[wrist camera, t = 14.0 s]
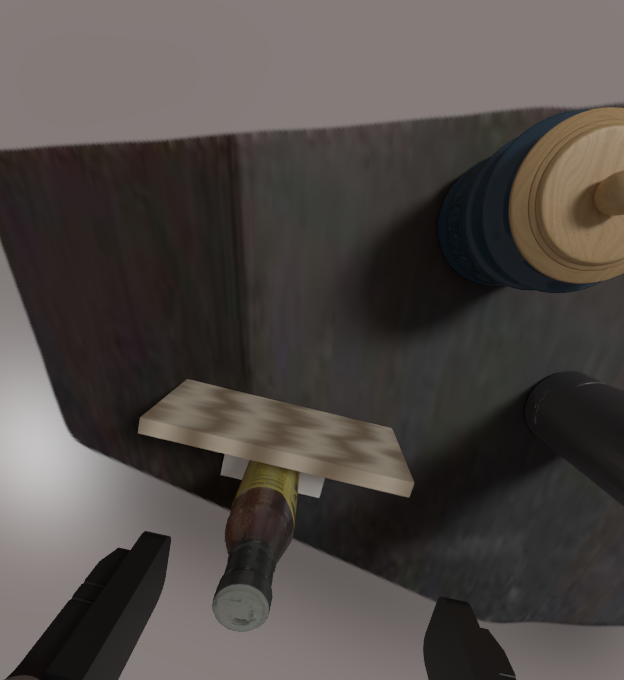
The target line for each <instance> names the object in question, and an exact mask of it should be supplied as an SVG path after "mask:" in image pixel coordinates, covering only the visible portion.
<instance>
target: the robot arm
mask: <svg viewBox="0 0 624 680" xmlns="http://www.w3.org/2000/svg"><path fill="white" fill-rule="evenodd" d="M525 418H526V422H527V425H528V427H529V429H530V430H531V431H532V432H533V434H535V435H536V436H537V437H538V438H539V439H541V440H542V441H543V442H544V443H546V444H547V445H548V446H549V447H551V448H552V449H553V450H554V451H555V452H557V453H558V454H559V455H560V456H561V457H563V458H564V459H565V460H566V461H568V462H569V463H570V464H571V465H573V466H574V467H575V468H576V469H578V470H579V471H580V472H581V473H583V474H584V475H585V476H586V477H588V478H589V479H590V480H591V481H593V482H594V483H595V484H596V485H598V486H599V487H600V488H601V489H603V490H604V491H605V492H606V493H608V494H609V495H610V496H611V497H613V498H614V499H615V500H616V501H618V502H619V503H620V504H621V505H623V506H624V391H623V390H621V389H619V388H616V387H614V386H612V385H609V384H607V383H605V382H602V381H600V380H597V379H595V378H593V377H590V376H588V375H585V374H582V373H578V372H562V373H557V374H554V375H552V376H549V377H548V378H546V379H544V380H543V381H541V382H540V383H539V384H538V385H537V386H536V387H535V388H534V389H533V391H532V392H531V393H530V395H529V397H528V399H527V402H526V406H525ZM170 544H171V537H170V536H166V535H161V534H157V533H152V532H147V531H145V532H143V533H142V535H141V536H140V538H139V539H138V540H137V542H136V543H135V544H134V546H133V547H132V549H131V550H127V549H122V548H117V549H116V550H115V551H113V552H112V553H111V554H109V555H108V556H106V557H105V558H104V559H102V560H101V561H99V563H98V564H97V565H96V566H95V568H94V569H93V571H92V572H91V573H90V574H89V575H88V577H87V578H86V579H85V582H84V583H83V584H81V586H80V587H79V588H78V590H77V591H76V592H75V593H74V595H73V597H72V599H71V600H69V601H68V603H67V604H66V605H65V606H64V608H63V609H62V610H61V612H60V613H59V614H58V615H57V617H56V618H55V619H54V621H53V622H52V623H51V624H50V626H49V627H48V628H47V630H46V631H45V632H44V633H43V635H42V636H41V637H40V639H39V640H38V641H37V642H36V644H35V645H34V646H33V648H32V649H31V650H30V651H29V653H28V654H27V655H26V657H25V658H24V659H23V661H22V662H21V663H20V664H19V665H18V667H17V668H16V669H15V670H14V671H13V672H12V673H11V674H10V675H9V676H8V677H7V678H6V679H5V680H118V679H119V677H120V675H121V673H122V671H123V669H124V667H125V665H126V663H127V661H128V659H129V657H130V655H131V653H132V651H133V649H134V647H135V645H136V643H137V641H138V639H139V637H140V635H141V634H142V632H143V630H144V627H145V626H146V624H147V622H148V620H149V618H150V616H151V614H152V612H153V610H154V608H155V606H156V604H157V602H158V600H159V597H160V594H161V592H162V589H163V585H164V582H165V577H166V570H167V564H168V557H169V550H170ZM423 652H424V662H425V666H426V671H427V675H428V679H429V680H516V678H515V673H514V671H513V669H512V667H511V665H510V663H509V660H508V658H507V656H506V654H505V652H504V650H503V649H502V647H501V646H500V645H499V643H498V642H497V641H496V640H495V638H494V637H493V636H492V634H491V633H490V632H489V630H488V629H484V628H480V626H479V624H478V621H477V619H476V617H475V614H474V612H473V610H472V608H471V606H470V605H469V603H467V602H464V601H459V600H455V599H450V598H445V597H440V598H439V599H438V601H437V603H436V606H435V609H434V611H433V614H432V617H431V620H430V623H429V625H428V628H427V631H426V634H425V638H424V646H423Z"/></svg>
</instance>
